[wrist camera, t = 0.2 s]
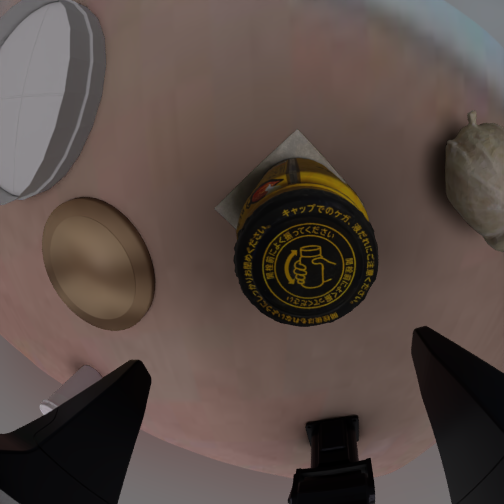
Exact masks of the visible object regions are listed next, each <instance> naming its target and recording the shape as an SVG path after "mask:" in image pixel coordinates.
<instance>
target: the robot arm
mask: <svg viewBox="0 0 504 504" xmlns="http://www.w3.org/2000/svg"><path fill="white" fill-rule="evenodd" d="M411 354H412V359H413V362H414V366H415V370H416V374H417V378H418V383H419V387H420V391H421V395H422V399H423V402H424V405H425V408H426V411H427V414H428V417H429V420H430V423H431V426H432V429H433V432H434V435H435V439H436V442H437V446H438V449H439V452H440V456H441V460H442V464H443V467H444V471H445V475H446V479H447V484H448V488H449V492H450V497H451V502H452V504H504V373H502V372H501V371H499V370H498V369H496V368H495V367H493V366H491V365H490V364H488V363H487V362H485V361H483V360H482V359H480V358H479V357H477V356H475V355H474V354H472V353H470V352H469V351H467V350H466V349H464V348H462V347H461V346H459V345H457V344H456V343H454V342H452V341H451V340H449V339H447V338H446V337H444V336H443V335H441V334H439V333H438V332H436V331H434V330H433V329H431V328H429V327H427V326H423V327H419V328H416V329H414V331H413V338H412V347H411ZM150 386H151V376H150V374H149V373H148V371H147V369H146V367H145V366H144V364H143V362H142V361H140V360H129V361H128V362H126V363H125V364H123V365H122V366H120V367H119V368H117V369H116V370H114V371H113V372H111V373H109V374H108V375H106V376H105V377H103V378H102V379H100V380H99V381H97V382H96V383H94V384H93V385H91V386H89V387H88V388H86V389H85V390H83V391H82V392H80V393H79V394H77V395H75V396H74V397H72V398H71V399H69V400H68V401H66V402H64V403H63V404H61V405H60V406H58V407H56V408H55V409H53V410H52V411H50V412H48V413H47V414H45V415H43V416H42V417H40V418H38V419H36V420H34V421H32V422H31V423H29V424H27V425H25V426H23V427H21V428H19V429H17V430H15V431H13V432H10V433H7V434H0V504H118V500H119V496H120V492H121V489H122V486H123V482H124V479H125V475H126V472H127V468H128V465H129V462H130V458H131V455H132V452H133V449H134V445H135V442H136V439H137V436H138V433H139V430H140V427H141V424H142V420H143V417H144V413H145V409H146V404H147V399H148V395H149V391H150ZM305 428H306V431H307V435H308V439H309V442H310V446H311V468H307V469H301V468H300V469H296V474H294V478H293V486H292V490H291V492H290V495H289V498H288V503H289V504H375V487H374V478H373V471H372V464H371V458H368V459H366V460H361V461H359V459H358V449H357V442H358V441H359V419H358V416H351V417H345V418H339V419H333V420H326V421H319V422H311V423H307V424H306V427H305Z"/></svg>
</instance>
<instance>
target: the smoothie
mask: <svg viewBox="0 0 504 504" xmlns="http://www.w3.org/2000/svg"><path fill="white" fill-rule="evenodd" d="M100 379H102V376H101V375H100V374H99V373H98V372H97V371H96V370H95V369H94V368H92V367H90V366H87V365H84V366H82V367H81V368H80V369H79V370H78V371H77V372H76V373H75V374H74V375H73V376H72V377H71V378H70V379H69V380H67V381H66V382H65V383H64V384H63V385H62V386H61V387H60V388H59V389H58V390H57V391H56V392H55V393H54V394H53V395H52V396H51V397H50V398H49V399H48V400H43V401H42V403H41V404H40V409H41V412H42V413H43V414H44V415H45V414H47V413H48V412H50V411H52V410H53V409H55V408H56V407H58V406H60V405H61V404H63V403H64V402H66V401H68V400H69V399H71V398H72V397H74V396H75V395H77V394H79V393H80V392H82V391H83V390H85V389H86V388H88V387H89V386H91V385H93V384H94V383H96V382H97V381H99V380H100Z"/></svg>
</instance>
